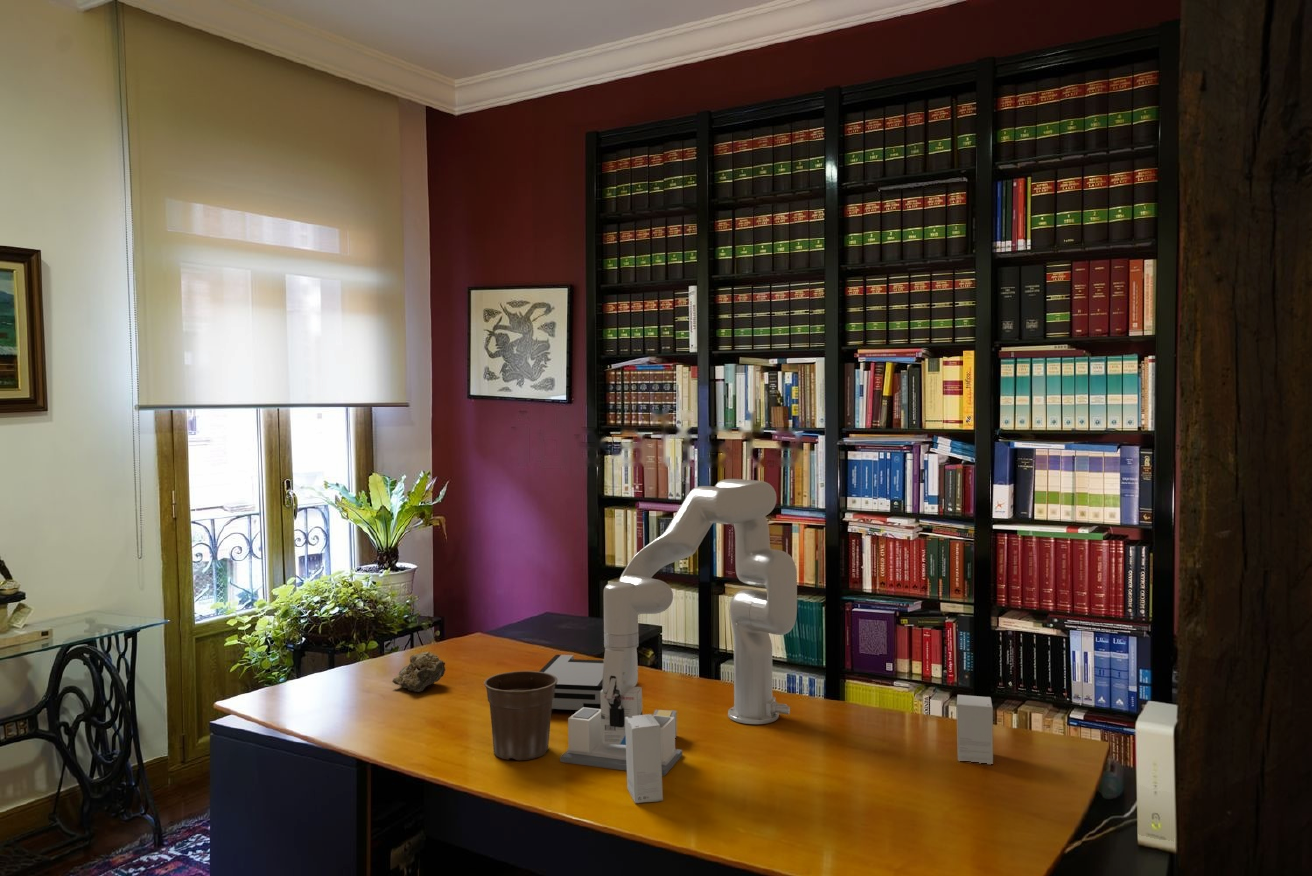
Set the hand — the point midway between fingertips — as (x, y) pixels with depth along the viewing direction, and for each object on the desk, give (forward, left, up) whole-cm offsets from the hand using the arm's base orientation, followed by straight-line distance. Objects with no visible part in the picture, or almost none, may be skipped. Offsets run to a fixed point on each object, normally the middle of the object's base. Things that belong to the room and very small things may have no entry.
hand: (622, 721), depth 196 cm
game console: (+28, -37, -9) cm, 48 cm away
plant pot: (+23, +3, -9) cm, 25 cm away
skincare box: (-11, +16, -9) cm, 21 cm away
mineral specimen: (+74, -31, -9) cm, 81 cm away
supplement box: (-73, -25, -9) cm, 78 cm away
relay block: (-5, -14, -8) cm, 17 cm away
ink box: (0, 0, -5) cm, 5 cm away
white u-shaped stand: (0, 0, -8) cm, 8 cm away
